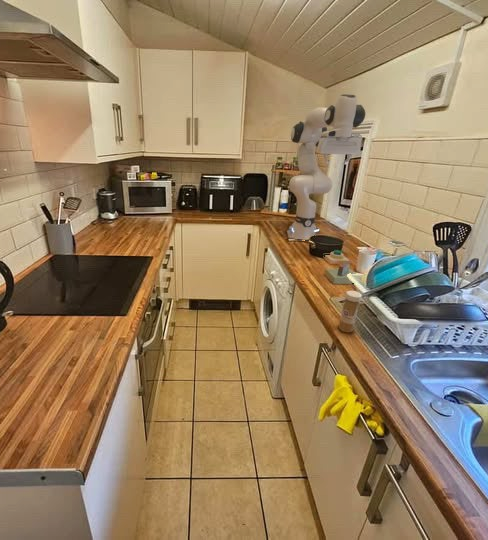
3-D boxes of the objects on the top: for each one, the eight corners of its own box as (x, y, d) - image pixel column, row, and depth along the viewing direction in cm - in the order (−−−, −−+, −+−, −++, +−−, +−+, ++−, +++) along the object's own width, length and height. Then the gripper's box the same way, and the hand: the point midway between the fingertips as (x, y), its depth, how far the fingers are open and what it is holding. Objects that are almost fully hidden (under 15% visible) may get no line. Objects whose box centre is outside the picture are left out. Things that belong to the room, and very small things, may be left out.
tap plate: (323, 273, 142) (324, 267, 141) (348, 273, 143) (349, 267, 141) (333, 285, 131) (335, 278, 129) (361, 285, 131) (362, 278, 130)
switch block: (322, 257, 162) (324, 250, 161) (340, 257, 163) (342, 250, 161) (330, 264, 153) (331, 257, 152) (349, 264, 154) (350, 257, 152)
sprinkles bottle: (336, 329, 99) (344, 293, 94) (341, 323, 103) (349, 288, 97) (350, 334, 97) (359, 298, 91) (354, 329, 100) (364, 293, 95)
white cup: (374, 275, 142) (379, 255, 138) (356, 273, 143) (361, 253, 139) (369, 268, 149) (374, 250, 145) (352, 267, 150) (357, 248, 146)
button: (332, 253, 158) (332, 250, 157) (338, 253, 158) (339, 250, 158) (335, 255, 155) (335, 252, 154) (341, 255, 155) (342, 252, 154)
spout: (344, 270, 139) (345, 261, 137) (348, 271, 138) (350, 262, 136) (337, 275, 133) (339, 266, 132) (341, 276, 132) (343, 267, 130)
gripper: (359, 134, 145) (353, 164, 151) (318, 132, 144) (313, 163, 150) (366, 133, 140) (359, 165, 145) (323, 132, 139) (318, 163, 144)
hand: (336, 164), depth 147 cm, fingers open, 8 cm apart
